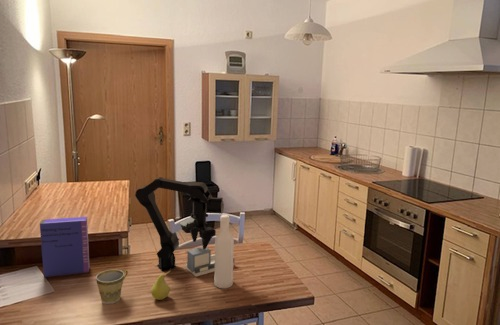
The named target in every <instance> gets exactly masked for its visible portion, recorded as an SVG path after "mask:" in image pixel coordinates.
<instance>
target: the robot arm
mask: <svg viewBox="0 0 500 325" xmlns="http://www.w3.org/2000/svg"><path fill="white" fill-rule="evenodd" d="M158 189H163V190H168V191H175V192H180V193H184V194H186V195H188V196H190V198H189V199H188V200H187V202H188V203H192V212H191V214H190V217H188V218H185V219H184V220H182V221H181V222H179V224H180V227H181V230H183V231H184V232H185V233H188V232H190V236H191V238H192V241H193V242H194V243H195V242H196V241H197V239H198V236H199V237H200V238H201V242H202V243H201V244H202V247H203V249H206V247H207V248H208V245H209V244H210V241H211V239H212V238H213V237H215V236H217V232H216V229H214V228H213V227H212V226H208V225H209V223H208V222H207V218H208V217H209V214H208V213H210V214H222V215H223V213H224V209H225V208H224V207H225V203H224V200H223V199H224V198H223V197H213V195H212V194H211V192H210V190H209V188H208V186H207V185H206V183H205V182H202V181H201V182H199V181H193V182H184V181H180V180H175V179H169V178H164V177H157V178H155V179H154V180H152V182H150V183H149V184H145V185H143V186H142V187H140V188H138V189H136V191H135V198H136V200H137V201H138V203H139V204H140V205H141V206H142V207H144V208H145V210H146V211H147V213H148V216H149V217H150V219H151V221H152V224H153V225H154V228H155V229H156V231H157V234H158V236H159V242H160V243H159V244H160V249H159V250H158V251H157V253H156V255H157V259H158V264H157V267H158V268H159V270H161V271H162V272H165V271H170V270H172V269H176V268H177V267H176V255H175V253H174V252H175V251H176V250H177V248H178V247H179V244H180V241H179V240H180V238H178V236H177V233H176V232H171V231H170V229H169V228H168V225H167V223H166V221H165V219H164V217H163V215H162V213H161V211H160V210H159V207H158V204H157V202H156V194H155V191H156V190H158ZM207 212H208V213H207ZM207 226H208V227H207ZM198 234H199V235H198Z"/></svg>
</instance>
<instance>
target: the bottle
mask: <svg viewBox="0 0 500 325" xmlns="http://www.w3.org/2000/svg"><path fill="white" fill-rule="evenodd" d="M230 220H231V218H230V215H228V214H222V215H220V219H219V222H220V226H219V227H220V229H219V232H218V233H216V235H215V236H216V237H215V239H214V254H215V271H214V276H213V278H214V279H213V282H214V286H215V287H217V289H218V288H219V289H229V288H230V287H232V286H233V283H234V266H233V258H234V255H235V254H234V250H235V249H234V248H235V247H234V245H235V240H234V236H233V234H232V233H231V232H230Z"/></svg>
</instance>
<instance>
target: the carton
mask: <svg viewBox="0 0 500 325" xmlns="http://www.w3.org/2000/svg"><path fill="white" fill-rule="evenodd" d="M211 251H212V250H211V249H210V248H209V247H208V246H207V247H206V249H203V246H201V247H198V248H197V247H196V248H193V249H189V250H187V258H186V259H187V260H186V264H187V268H189V269H190V270H191V271H192V272H194V271H195V268H199V267H202V266H206V265H209V264H211V255H212V254H211V253H212V252H211Z"/></svg>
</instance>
